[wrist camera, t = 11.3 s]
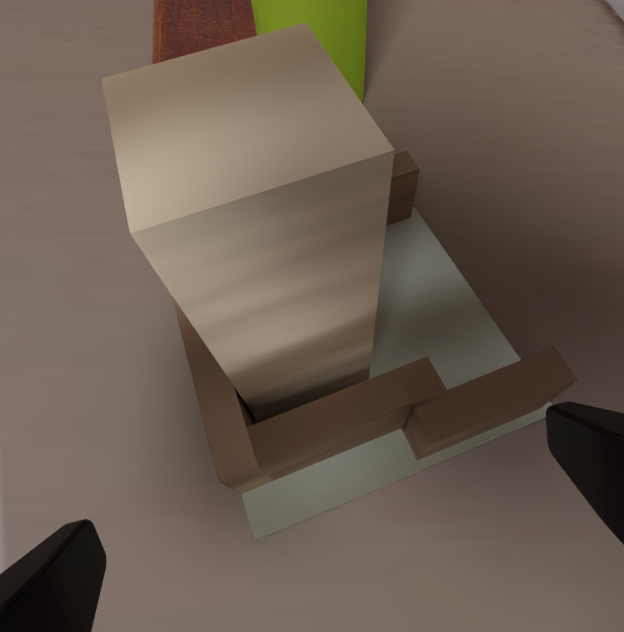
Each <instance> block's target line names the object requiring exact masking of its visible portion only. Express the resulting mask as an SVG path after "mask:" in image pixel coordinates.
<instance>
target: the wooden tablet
mask: <svg viewBox="0 0 624 632" xmlns="http://www.w3.org/2000/svg"><path fill="white" fill-rule="evenodd" d="M254 36H257V32H256V27H255V21H254V15H253V9H252V3H251V0H154V23H153V55H152V59H153V63H152V64H156V63H160V62H163V61H167V60H171V59H174V58H178V57H181V56H185V55H189V54H192V53H196V52H200V51H203V50H207V49H210V48H214V47H218V46H221V45H225V44H229V43H232V42H236V41H239V40H243V39H247V38H250V37H254Z"/></svg>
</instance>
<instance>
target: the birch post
mask: <svg viewBox="0 0 624 632" xmlns="http://www.w3.org/2000/svg"><path fill="white" fill-rule="evenodd" d="M102 84H103V90H104V95H105V101H106V106H107V111H108V117H109V122H110V128H111V133H112V139H113V144H114V149H115V155H116V160H117V166H118V171H119V177H120V182H121V187H122V193H123V198H124V204H125V209H126V215H127V220H128V225H129V231H130V234H131V236H132V237H133V239H134V240H135V242H136V243H137V245H138V246H139V248H140V249H141V250H142V252H143V253H144V255H145V256H146V258H147V259H148V261H149V262H150V264H151V265H152V267H153V268H154V270H155V271H156V272H157V274H158V275H159V277H160V278H161V280H162V281H163V283H164V284H165V286H166V287H167V289H168V290H169V292H170V293H171V294H172V296H173V297H174V299H175V300H176V302H177V303H178V305H179V306H180V308H181V309H182V311H183V312H184V314H185V315H186V317H187V318H188V319H189V321H190V322H191V324H192V325H193V327H194V328H195V330H196V331H197V333H198V334H199V336H200V337H201V339H202V340H203V341H204V343H205V344H206V346H207V347H208V349H209V350H210V352H211V353H212V355H213V356H214V358H215V359H216V361H217V362H218V364H219V365H220V366H221V368H222V369H223V371H224V372H225V374H226V375H227V377H228V378H229V380H230V381H231V383H232V384H233V386H234V387H235V388H236V390H237V391H238V393H239V394H240V396H241V397H242V399H243V400H244V402H245V403H246V405H247V406H248V408H249V409H250V411H251V412H252V413H253V415H254V416H255V418H256V419H257V421H258V422H262V421H264V420H267V419H269V418H272V417H274V416H277V415H280V414H282V413H285V412H287V411H290V410H292V409H295V408H297V407H300V406H302V405H305V404H307V403H310V402H312V401H315V400H318V399H320V398H323V397H325V396H328V395H330V394H333V393H335V392H338V391H340V390H343V389H345V388H348V387H350V386H353V385H356V384H358V383H361V382H363V381H366V380H368V379H369V374H370V365H371V356H372V347H373V338H374V329H375V320H376V311H377V302H378V293H379V284H380V276H381V267H382V258H383V249H384V240H385V231H386V222H387V213H388V204H389V195H390V186H391V177H392V168H393V159H394V148H393V147H392V146H391V144H390V143H389V141H388V140H387V138H386V137H385V136H384V134H383V133H382V131H381V130H380V128H379V127H378V125H377V124H376V123H375V121H374V120H373V118H372V117H371V115H370V114H369V113H368V111H367V110H366V108H365V107H364V105H363V104H362V103H361V101H360V100H359V98H358V97H357V95H356V94H355V93H354V91H353V90H352V88H351V87H350V85H349V84H348V83H347V81H346V80H345V78H344V77H343V75H342V74H341V72H340V71H339V70H338V68H337V67H336V65H335V64H334V62H333V61H332V60H331V58H330V57H329V55H328V54H327V52H326V51H325V50H324V48H323V47H322V45H321V44H320V42H319V41H318V40H317V38H316V37H315V35H314V34H313V32H312V31H311V30H310V28H309V27H308V25H307V24H306V22H305V23H301V24H298V25H294V26H290V27H287V28H283V29H279V30H276V31H272V32H269V33H265V34H261V35H258V36H254V37H250V38H247V39H243V40H239V41H236V42H232V43H229V44H225V45H221V46H218V47H214V48H210V49H207V50H203V51H200V52H196V53H192V54H189V55H185V56H181V57H178V58H174V59H171V60H167V61H163V62H160V63H156V64H152V65H149V66H145V67H141V68H138V69H134V70H131V71H127V72H123V73H120V74H116V75H112V76H109V77H105V78H102Z"/></svg>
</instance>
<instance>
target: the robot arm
mask: <svg viewBox="0 0 624 632" xmlns="http://www.w3.org/2000/svg"><path fill="white" fill-rule="evenodd" d="M546 426H547V439H548V446H549V449H550V451H551V453H552V455H553V457H554V458H555V459H556V461H557V462H558V463H559V465H560V466H561V467H562V468H563V470H564V471H565V472H566V474H567V475H568V476H569V478H570V479H571V480H572V482H573V483H574V484H575V486H576V487H577V488H578V490H579V491H580V492H581V494H582V495H583V496H584V497H585V499H586V500H587V501H588V503H589V504H590V505H591V507H592V508H593V509H594V511H595V512H596V513H597V514H598V516H599V517H600V518H601V519H602V521H603V522H604V523H605V524H606V525H607V527H608V528H609V529H610V530H611V531H612V532H613V533H614V534H615V536H616V537H617V538H618V539H619V540H620V541H621V542H622V543H623V544H624V413H620V412H615V411H611V410H606V409H601V408H597V407H592V406H588V405H583V404H578V403H574V402H563V403H559V404H555V405H551V406H549V407H548V408H547V410H546ZM105 570H106V554H105V551H104V548H103V546H102V544H101V541H100V539H99V536H98V534H97V532H96V529H95V527H94V525H93V523H92V522H91V521H90V520H87V519H84V520H80V521H76V522H72V523H68V524H65V525H64V526H62V527H61V528H60V529H58V530H57V531H56V532H54V533H53V534H52V535H51V536H49V537H48V538H47V539H45V540H44V541H43V542H41V543H40V544H39V545H38V546H36V547H35V548H34V549H32V550H31V551H30V552H29V553H27V554H26V555H25V556H23V557H22V558H21V559H19V560H18V561H17V562H16V563H14V564H13V565H12V566H10V567H9V568H8V569H6V570H5V571H4V572H3V573H1V574H0V632H91V631H92V626H93V622H94V618H95V613H96V609H97V604H98V600H99V596H100V591H101V587H102V583H103V578H104V574H105Z"/></svg>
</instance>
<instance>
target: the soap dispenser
mask: <svg viewBox="0 0 624 632" xmlns="http://www.w3.org/2000/svg"><path fill="white" fill-rule="evenodd" d="M367 2H368V0H251V3H252V9H253V15H254V21H255V27H256V32H257V36H258V35H261V34H265V33H269V32H272V31H276V30H279V29H283V28H287V27H290V26H294V25H298V24H301V23H305V22H306V24H307V25H308V27H309V28H310V30H311V31H312V32H313V34H314V35H315V37H316V38H317V40H318V41H319V42H320V44H321V45H322V47H323V48H324V50H325V51H326V52H327V54H328V55H329V57H330V58H331V60H332V61H333V62H334V64H335V65H336V67H337V68H338V70H339V71H340V72H341V74H342V75H343V77H344V78H345V80H346V81H347V83H348V84H349V85H350V87H351V88H352V90H353V91H354V93H355V94H356V95H357V97H358V98H359V100H360V101H361V103H363V99H364V79H365V53H366V28H367Z"/></svg>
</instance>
